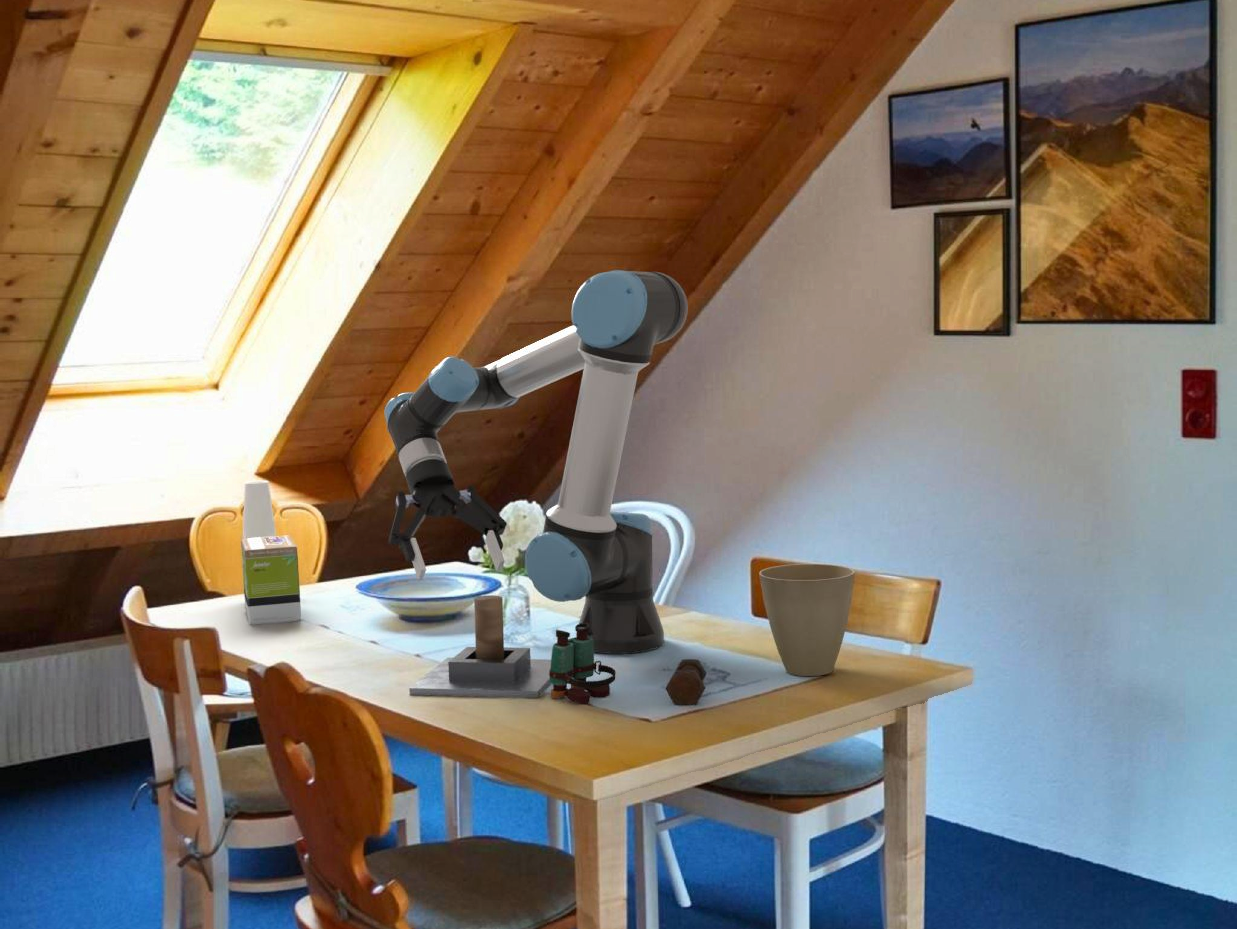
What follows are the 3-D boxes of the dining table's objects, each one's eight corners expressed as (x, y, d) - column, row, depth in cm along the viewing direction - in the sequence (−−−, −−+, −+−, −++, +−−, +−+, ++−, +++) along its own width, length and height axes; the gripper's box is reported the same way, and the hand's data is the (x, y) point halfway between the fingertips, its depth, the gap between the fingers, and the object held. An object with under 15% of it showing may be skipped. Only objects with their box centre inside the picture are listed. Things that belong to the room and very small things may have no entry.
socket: (566, 665, 240) (565, 641, 240) (537, 697, 221) (537, 671, 220) (448, 663, 244) (447, 639, 243) (409, 694, 224) (408, 668, 224)
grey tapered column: (283, 597, 304) (277, 482, 302) (251, 601, 301) (245, 484, 299) (273, 592, 310) (268, 479, 308) (241, 596, 307) (235, 481, 304)
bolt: (697, 692, 229) (690, 715, 214) (668, 676, 230) (660, 697, 215) (715, 660, 229) (709, 681, 214) (687, 644, 229) (679, 663, 214)
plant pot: (826, 656, 243) (825, 560, 241) (873, 676, 229) (873, 574, 227) (744, 666, 237) (743, 568, 236) (787, 687, 223) (786, 583, 222)
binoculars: (592, 643, 212) (540, 628, 218) (588, 713, 214) (537, 697, 220) (631, 632, 219) (580, 618, 225) (627, 700, 221) (577, 684, 227)
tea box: (243, 611, 292) (239, 537, 290) (295, 606, 295) (291, 533, 293) (248, 626, 278) (244, 548, 276) (302, 621, 281) (298, 544, 279)
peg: (507, 670, 234) (505, 595, 233) (500, 677, 229) (498, 601, 228) (480, 669, 235) (478, 595, 233) (473, 676, 230) (470, 600, 229)
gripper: (489, 479, 260) (526, 576, 249) (351, 491, 249) (383, 592, 237) (499, 451, 255) (538, 548, 243) (359, 462, 244) (393, 564, 232)
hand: (462, 570), depth 240 cm, fingers open, 13 cm apart
